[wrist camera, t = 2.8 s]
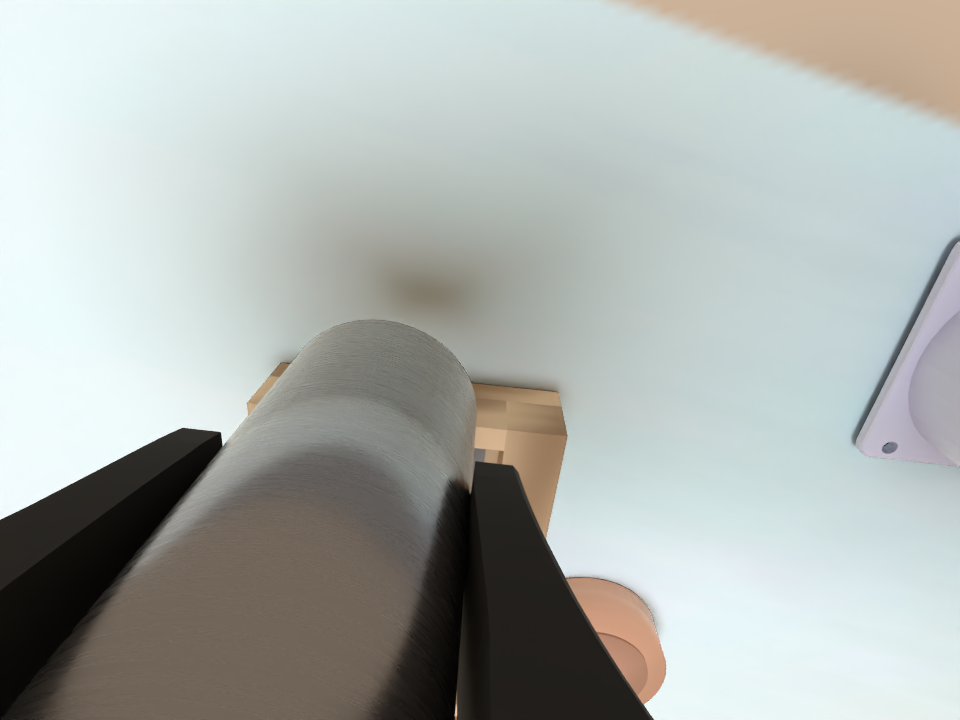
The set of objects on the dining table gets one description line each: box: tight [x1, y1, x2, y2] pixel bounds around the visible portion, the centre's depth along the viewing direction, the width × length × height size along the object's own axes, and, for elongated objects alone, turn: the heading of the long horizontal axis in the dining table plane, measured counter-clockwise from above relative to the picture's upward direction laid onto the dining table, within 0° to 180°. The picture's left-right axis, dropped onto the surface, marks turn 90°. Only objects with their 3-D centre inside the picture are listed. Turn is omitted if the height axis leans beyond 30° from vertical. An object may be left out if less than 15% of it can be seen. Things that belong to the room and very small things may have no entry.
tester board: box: [247, 363, 567, 716], centre depth 20 cm, size 10×15×4 cm, turn 174°
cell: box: [0, 320, 477, 720], centre depth 7 cm, size 4×4×9 cm
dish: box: [566, 578, 666, 705], centre depth 23 cm, size 7×7×2 cm
